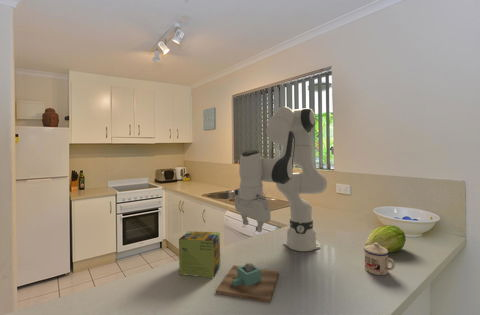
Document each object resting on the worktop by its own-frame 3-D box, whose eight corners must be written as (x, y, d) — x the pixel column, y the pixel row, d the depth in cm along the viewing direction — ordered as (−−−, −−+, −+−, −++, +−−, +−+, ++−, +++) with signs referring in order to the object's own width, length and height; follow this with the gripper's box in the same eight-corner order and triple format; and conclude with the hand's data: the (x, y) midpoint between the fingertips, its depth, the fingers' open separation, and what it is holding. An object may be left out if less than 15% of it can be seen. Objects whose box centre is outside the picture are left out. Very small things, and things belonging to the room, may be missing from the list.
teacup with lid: (359, 268, 107) (359, 242, 107) (372, 263, 112) (372, 237, 112) (388, 281, 97) (388, 251, 97) (400, 275, 102) (400, 246, 101)
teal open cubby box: (251, 274, 102) (250, 263, 102) (261, 281, 97) (260, 269, 97) (229, 282, 97) (228, 270, 96) (238, 290, 91) (238, 277, 91)
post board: (233, 267, 110) (233, 251, 110) (279, 274, 104) (278, 257, 104) (215, 293, 91) (215, 274, 91) (270, 302, 85) (269, 282, 85)
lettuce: (352, 236, 129) (370, 229, 118) (382, 226, 137) (401, 218, 126) (365, 262, 124) (385, 257, 113) (396, 250, 132) (417, 244, 121)
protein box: (214, 278, 102) (213, 240, 101) (179, 275, 105) (178, 238, 104) (221, 266, 112) (220, 232, 112) (188, 263, 115) (187, 230, 114)
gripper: (274, 196, 89) (275, 234, 90) (244, 188, 107) (245, 219, 108) (259, 198, 86) (260, 237, 87) (231, 189, 104) (232, 222, 105)
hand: (252, 227), depth 98 cm, fingers open, 8 cm apart
